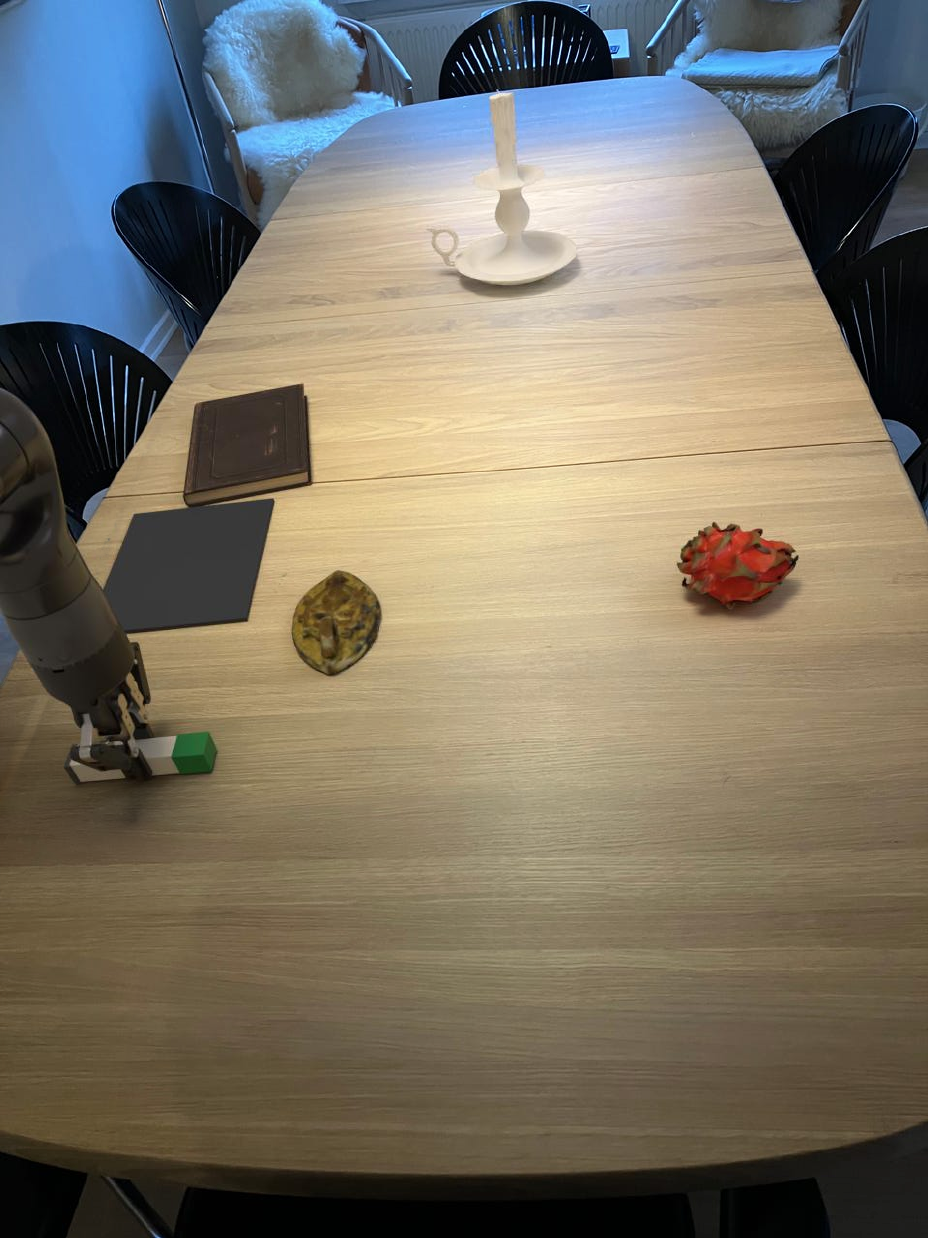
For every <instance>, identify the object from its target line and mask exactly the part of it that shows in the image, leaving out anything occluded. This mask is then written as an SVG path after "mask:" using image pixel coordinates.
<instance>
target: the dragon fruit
mask: <svg viewBox="0 0 928 1238" xmlns="http://www.w3.org/2000/svg"><path fill="white" fill-rule="evenodd" d="M763 530H764V529H763V528H757V527H756V528H753V529H751V530H746V531H743V530H742V527H741V526H740V524H736V523H729V524H728V525H727V526H726V527H725V528H721V527H720V525H719V524H718V523H717V522H716V521H713V522H712V523H711V525H709V526H706V527H704V528H703V529H702V530H701V529H698V531H697V535H696V536H693V538H692V539H689V540H688V541H687V542H686V544H684V545H683V546H682V547H681V548H680V555H679V556H680V560H681V562H678V561H677V562H676V563H675V565H676V567H677V569H678V571H679V572H680V573H681V574H683V575H689V576H690V583H687V580H688V578H686V576H684V577H683V579H682V581H681V587H683V588H684V589H687V590H689V591H694V592H696V593H697V594H698V595H702V594H703V595H704V594H705V593H706V594H707V595H708V596H709V597H713V598H715V599H717V600H719V602H721V604H722V605H724V606H725V609H726V610H733V609H734V607H735V605H736V602H733V601H746V602H747V601H748V602H760V601H761V600H763V599H764V598H766V597H767V596H769V595H771V594H773V591H774V589H775V588H776V587H778V586H781V585H783V584H784V583H783V581H784V580H785V579H786V577H788V575H790V574H791V573H792V572H793V571H794V569H795V567H796V565H797V561H799V559H800V558H799V557H800V556H799V555H798V554H796V556H795V557H792V556H793V553H797V550H796V549H794V547H793V546H792V545H791V544H790V543H788V542H786V541H783V540H771V539H770V540H767V539H765V538H763V537H762V536H763V534H764V531H763Z"/></svg>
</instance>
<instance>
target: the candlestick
mask: <svg viewBox="0 0 928 1238" xmlns="http://www.w3.org/2000/svg"><path fill="white" fill-rule="evenodd" d="M496 91H497V93H495V94H492V95H490V96H489V97H488V99H489V101H488V102H489V111H490V124H492V129H493V139H494V149H495V151H494V152H495V162H496V163H497V166H496V167H492V168H489V169H486V170H483V171H482V172H480V173H478V174H477V175H475V177H474V178H473V184H474V186H476V187H477V188H480V189H482V190H488V191H497V192H499V199H498V202H497V204H496V206H495V210H494V218H495V222H496V225H497V226H498V229H500V231H501V232H502V233H499V234H494V235H490V236H487V237H484V238H481V239H479V240H477V241H474V242H471V243H470V244H469V245H467V246H465V247H464V248H462V250H461V251H459V252H458V253H457V255H456V257H455V259H454V261H451V260H450V258H449V257H450V256H451V255H453V254H455V252H457V249H458V247H459V236H458V234H457V232H456V231H455V230H454V229H453V228H451V227H447V226H441V227H435V226H427V227H426V231H428V232H430V233H432V236H431V246H432V248H433V251H435V252H436V253H437V254H438V255H440V256H441V257H442V260H443V262H444V264H445V265H446V266H448V267H455V269H456V270H457V272H459V273H460V274H462V275H464V277H467V278H470V279H474V280H477V281H480V282H482V283H487V284H489V285H490V284H491V285H499V286H516V285H525V284H530V283H533V282H536V281H541V279H544V278H547V277H549V276H551V275H553V274H554V273H556V272H557V271H559V270H561V269H563V268H564V267H566V266H568V265H569V264H570V263H572V261H573V260H574V259H575V258H576V256H577V254H578V249H579V248H578V245H577V243H576V242H575V241H574V240H573V239H572V238H570V237H569V236H567V235H563V234H561V233H559V232H558V233H557V232H553V231H547V230H525V229H526V227H527V226H528V223H529V222H530V221H529V220H530V216H531V211H530V207H529V205H528V203H527V201H526V200H525V198H524V197H523V194H522V189H523V188H524V187H528V186H531V185H533V184H535V183H537V182H539V181H541V180H542V179H543V178H544V177H545V176H546V172H545V169H544V168H542V167H541V166H538V165H533V164H527V163H526V164H525V163H522V164H521V163H520V164H519V163H518V161H517V149H516V147H517V146H516V143H517V142H518V140H517V139H518V138H517V132H516V131H517V130H516V104H515V93H514V92H500V91H499V89H496ZM442 233H447V234H449V235H450V236H451V237H452V239H453V243H454V244H453V246H452V247H451V248H450V249H442V248H441V247H439V245H438V244H437V236H438V235H440V234H442Z"/></svg>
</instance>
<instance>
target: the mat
mask: <svg viewBox="0 0 928 1238" xmlns="http://www.w3.org/2000/svg"><path fill="white" fill-rule="evenodd" d="M274 505H275V499H274V498H273V497H272V498H263V499H256V500H255V499H253V500H245V501H236V502H235V501H234V502H227V503H217V504H207V505H201V506H196V507H183V508H173V509H165V510H155V511H147V512H139V513H134V514H133V515H132V518H131V519H130V522H129V525H128V527H127V530H126V533H125V534H124V537H123V540H122V542H121V545H120V547H119V550H118V552H117V554H116V557H115V559H114V562H113V564H112V566H111V569H110V571H109V574H108V576H107V579H106V580H105V583H104V586H103V587H102V589H103V591H104V592H105V594H106V596H107V598H108V600H109V602H110V604H111V606H112V608H113V610H114V612H115V614H116V615H117V617H118V619H119V621H120V623H121V625H122V627H123V629H124V631H125V633H126V634H134V633H143V632H153V631H163V630H173V629H184V628H193V627H202V626H212V625H221V624H231V623H242V622H248V620H249V615H250V611H251V605H252V602H253V598H254V593H255V589H256V584H257V580H258V575H259V572H260V567H261V563H262V558H263V553H264V549H265V546H266V540H267V536H268V531H269V528H270V527H269V526H270V524H271V523H270V522H271V518H272V514H273V509H274Z"/></svg>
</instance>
